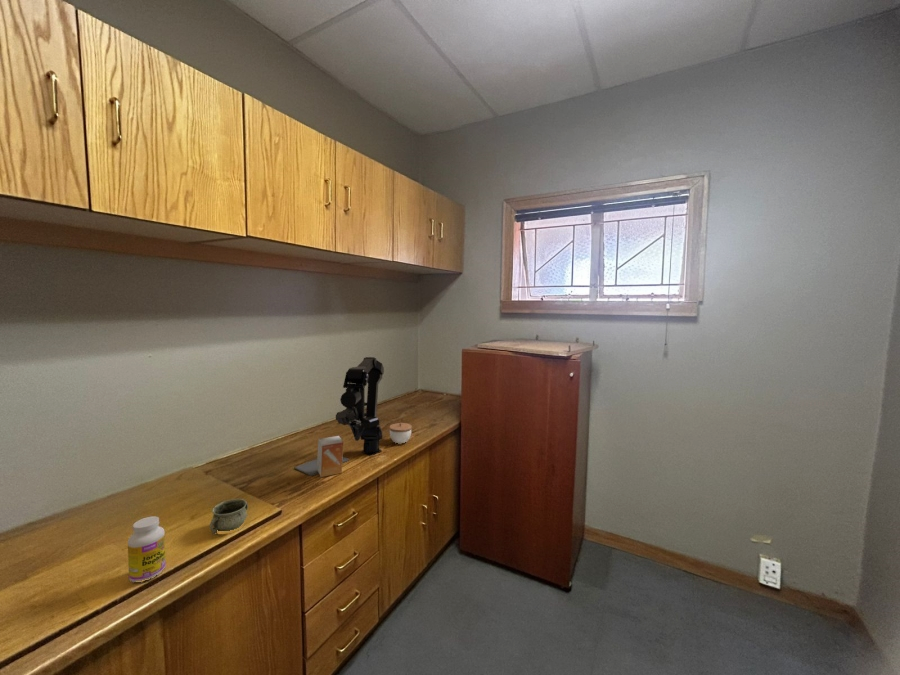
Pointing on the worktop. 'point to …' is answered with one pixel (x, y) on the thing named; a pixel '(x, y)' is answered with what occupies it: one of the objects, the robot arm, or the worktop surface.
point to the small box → (330, 456)
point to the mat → (312, 467)
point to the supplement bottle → (146, 549)
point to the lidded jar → (400, 432)
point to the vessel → (228, 515)
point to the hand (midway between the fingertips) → (357, 440)
